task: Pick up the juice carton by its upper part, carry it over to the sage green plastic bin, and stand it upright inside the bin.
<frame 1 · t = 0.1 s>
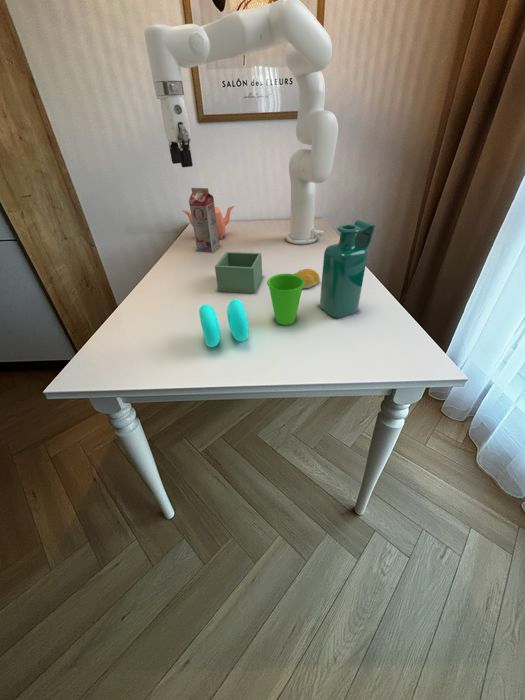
hand: (182, 164, 94), 31 cm above the table, tool pointing down, fingers open, 9 cm apart
juice carton: (208, 248, 125), on the table
cup: (285, 320, 81), on the table
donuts: (226, 340, 75), on the table
bread roll: (304, 283, 98), on the table
bin: (241, 283, 99), on the table
pitcher: (340, 308, 85), on the table
teapot: (212, 237, 136), on the table
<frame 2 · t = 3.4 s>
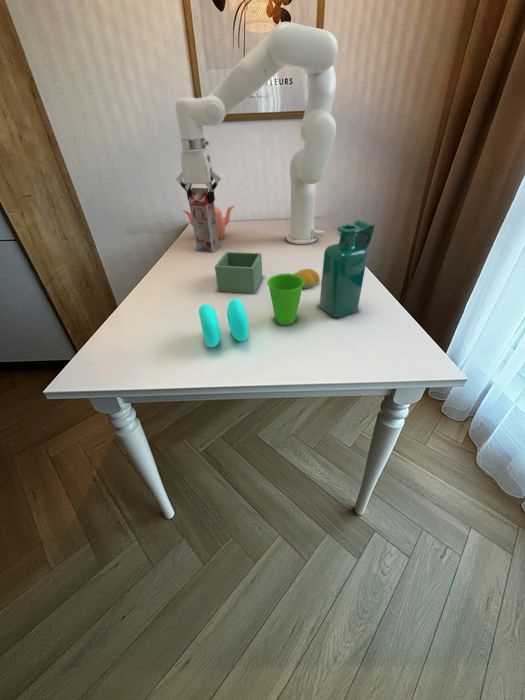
hand: (201, 202, 114), 17 cm above the table, tool pointing down, fingers closed on juice carton, 7 cm apart
juice carton: (208, 248, 125), on the table, touching gripper
everything else where it was.
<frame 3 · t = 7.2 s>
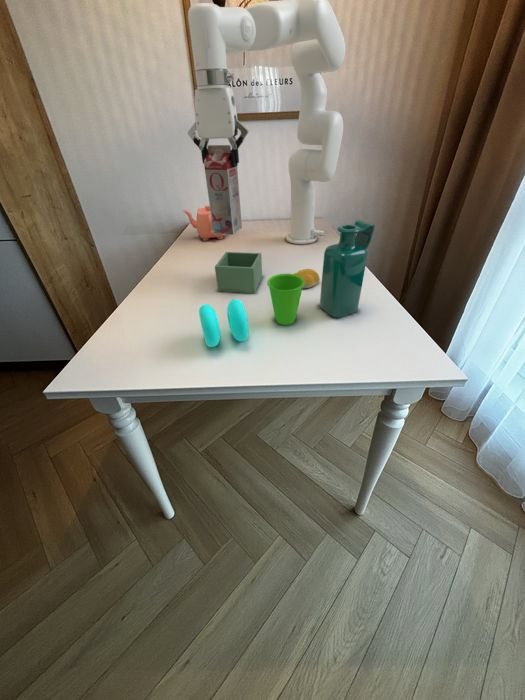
hand: (221, 166, 85), 32 cm above the table, tool pointing down, fingers closed on juice carton, 7 cm apart
juice carton: (227, 231, 96), point 14 cm above the table, touching gripper
everything else where it was.
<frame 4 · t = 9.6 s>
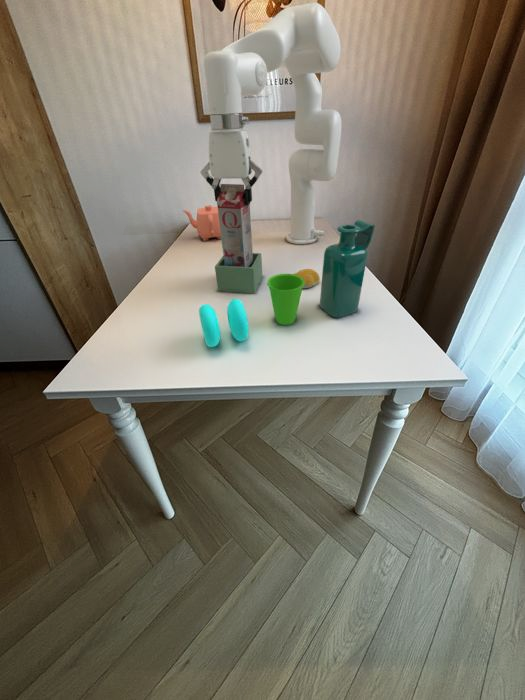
hand: (233, 203, 84), 24 cm above the table, tool pointing down, fingers closed on juice carton, 7 cm apart
juice carton: (239, 264, 95), point 6 cm above the table, touching gripper
everything else where it was.
when the fingers open (18 cm above the table, at t = 11.5 s): juice carton stays where it is, resting on bin.
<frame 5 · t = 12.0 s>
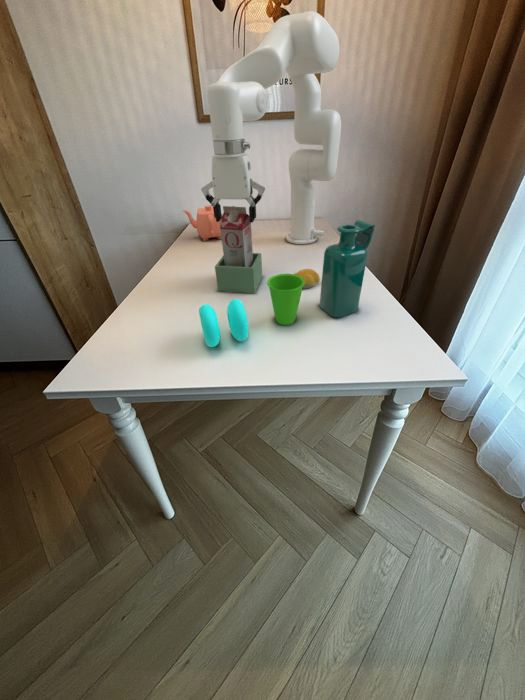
hand: (235, 220, 87), 19 cm above the table, tool pointing down, fingers open, 9 cm apart
juice carton: (240, 281, 98), point 1 cm above the table, touching bin
everything else where it was.
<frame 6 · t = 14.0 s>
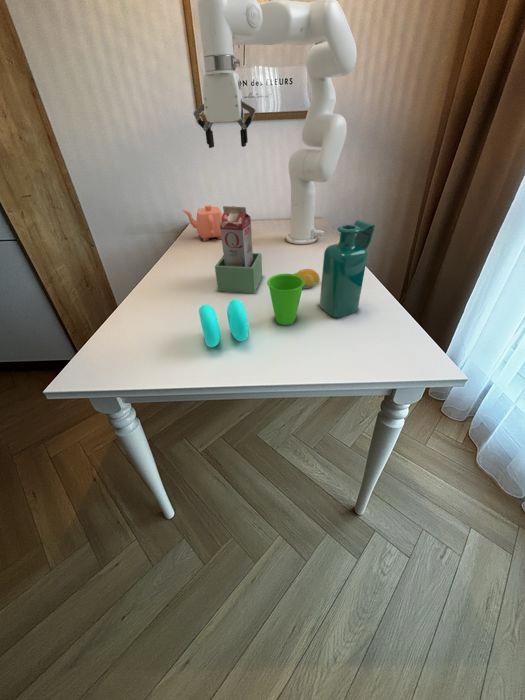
hand: (227, 146, 89), 35 cm above the table, tool pointing down, fingers open, 9 cm apart
nothing on the table moved.
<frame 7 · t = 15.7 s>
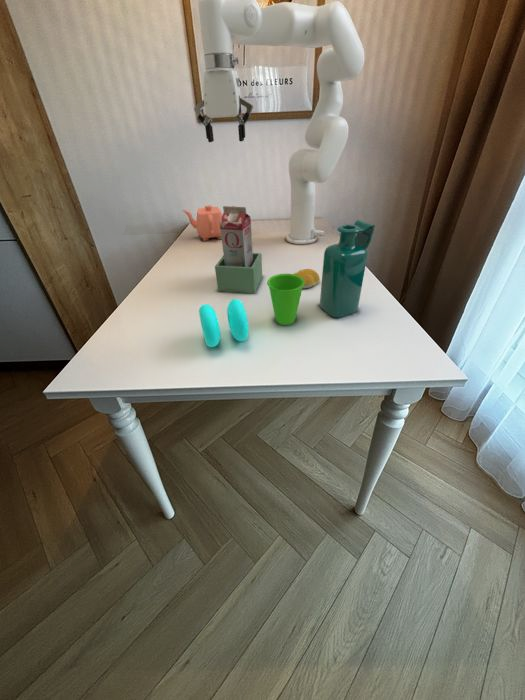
hand: (226, 141, 94), 36 cm above the table, tool pointing down, fingers open, 9 cm apart
nothing on the table moved.
at the end: juice carton inside the target area in the bin (0.0 cm from its centre), point 0.8 cm above the bin's base; juice carton tilted 0° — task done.
